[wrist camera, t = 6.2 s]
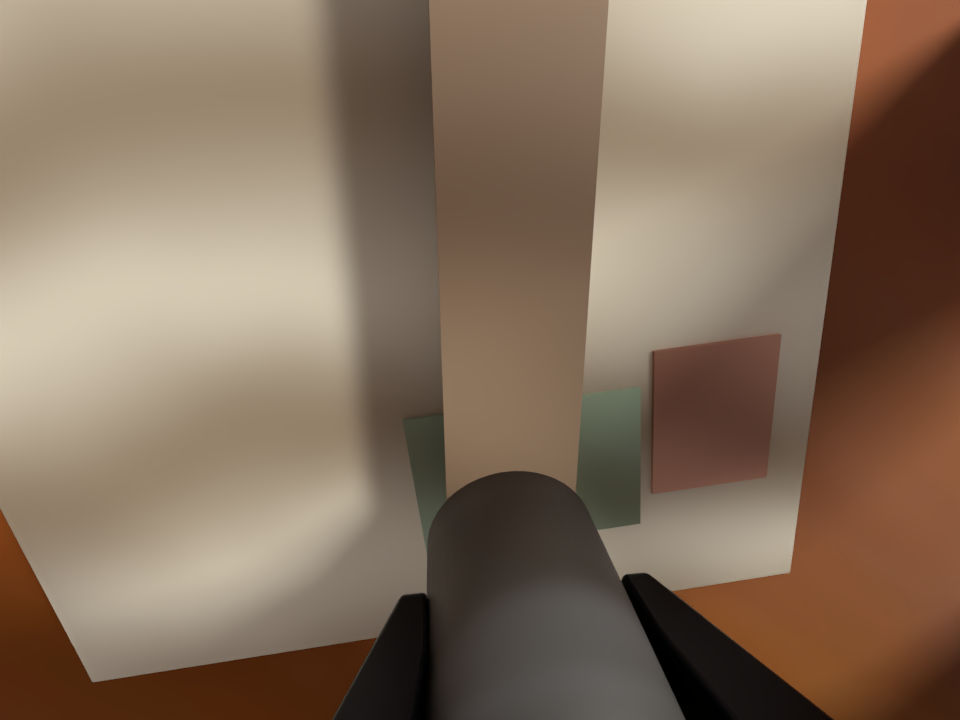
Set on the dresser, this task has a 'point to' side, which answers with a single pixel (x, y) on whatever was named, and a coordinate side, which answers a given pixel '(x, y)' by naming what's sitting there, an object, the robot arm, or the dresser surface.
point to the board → (380, 306)
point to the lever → (521, 378)
